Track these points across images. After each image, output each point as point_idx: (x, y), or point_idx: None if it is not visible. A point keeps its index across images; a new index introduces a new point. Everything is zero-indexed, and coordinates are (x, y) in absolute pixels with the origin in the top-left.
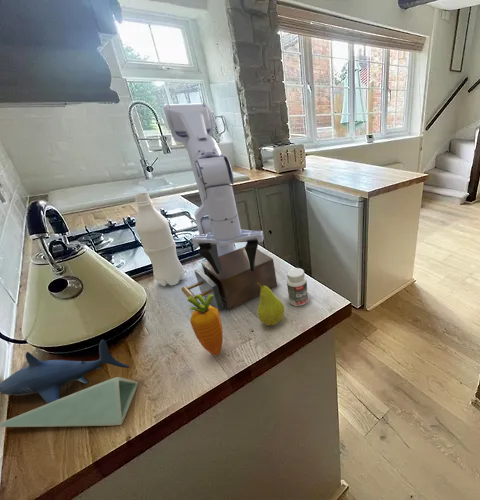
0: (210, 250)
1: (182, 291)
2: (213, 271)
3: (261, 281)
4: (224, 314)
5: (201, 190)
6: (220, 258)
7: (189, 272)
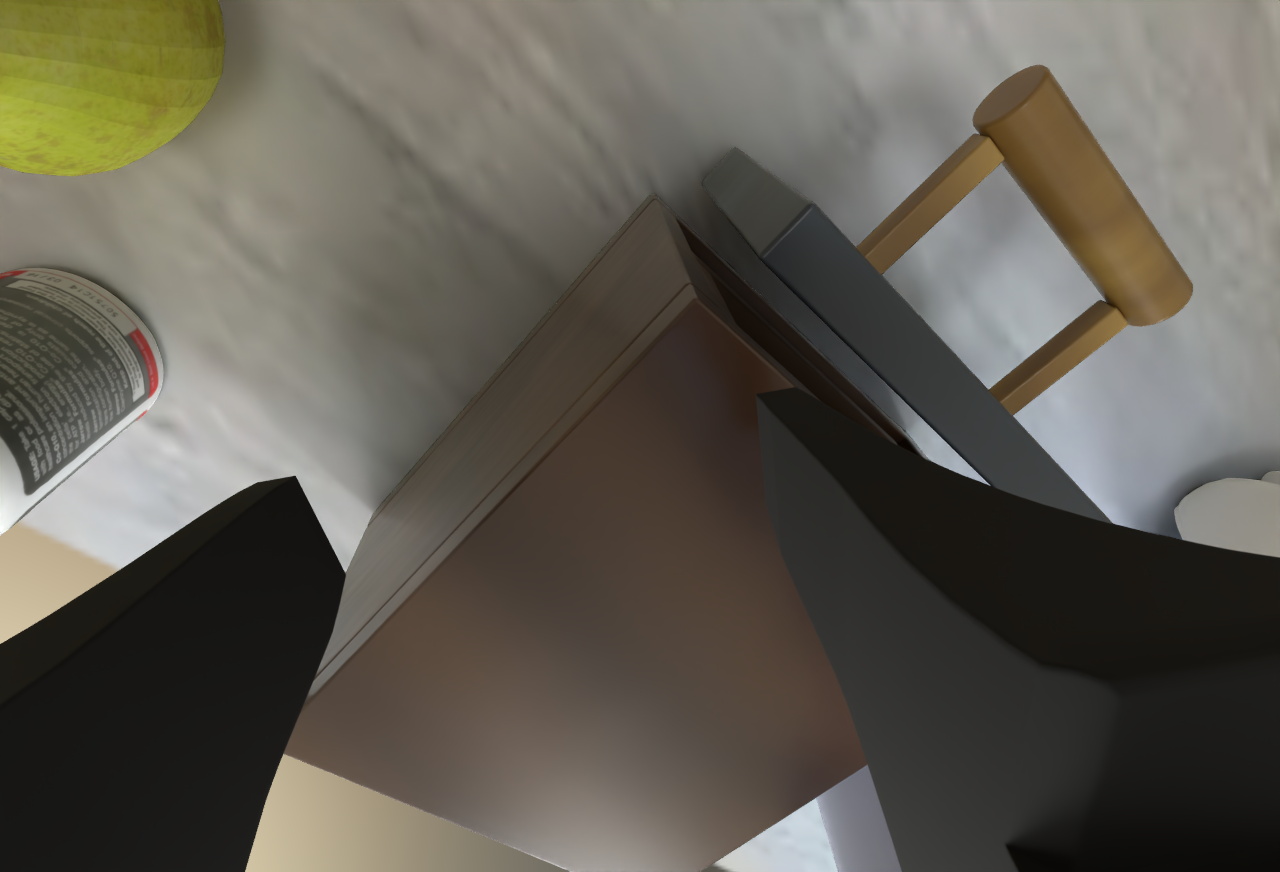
0: (1028, 764)
1: (1169, 251)
2: None
3: (422, 497)
4: (680, 129)
5: None
6: None
7: None
